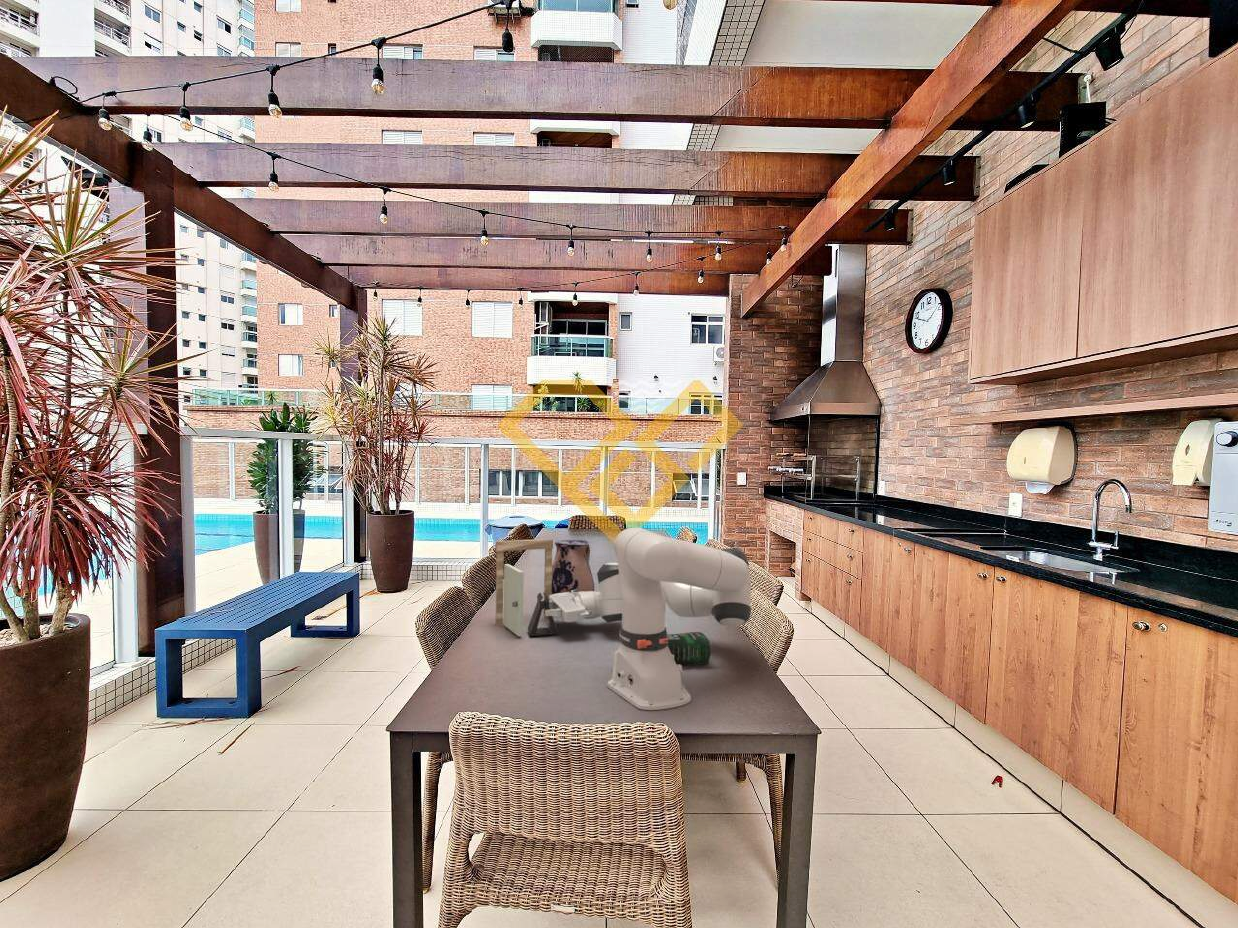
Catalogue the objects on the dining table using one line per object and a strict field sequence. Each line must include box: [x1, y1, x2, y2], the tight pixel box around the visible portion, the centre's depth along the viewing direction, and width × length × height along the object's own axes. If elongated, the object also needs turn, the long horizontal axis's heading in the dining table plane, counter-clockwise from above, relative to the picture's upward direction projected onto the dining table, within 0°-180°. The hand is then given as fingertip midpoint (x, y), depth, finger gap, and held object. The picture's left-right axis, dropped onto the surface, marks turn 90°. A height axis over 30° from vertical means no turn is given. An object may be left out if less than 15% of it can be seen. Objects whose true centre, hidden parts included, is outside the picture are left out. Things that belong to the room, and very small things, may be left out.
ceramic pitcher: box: [551, 539, 595, 595], centre depth 206 cm, size 18×21×25 cm
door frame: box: [495, 538, 554, 627], centre depth 189 cm, size 2×19×28 cm, turn 112°
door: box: [503, 563, 525, 637], centre depth 179 cm, size 3×13×20 cm, turn 32°
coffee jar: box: [667, 631, 712, 666], centre depth 157 cm, size 10×8×19 cm
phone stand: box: [527, 591, 559, 637], centre depth 178 cm, size 9×6×12 cm, turn 106°
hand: (541, 609), depth 178 cm, fingers closed on phone stand, 6 cm apart
